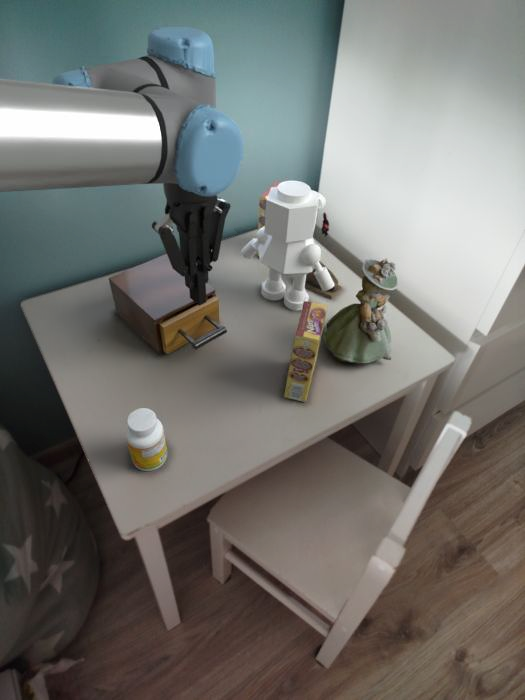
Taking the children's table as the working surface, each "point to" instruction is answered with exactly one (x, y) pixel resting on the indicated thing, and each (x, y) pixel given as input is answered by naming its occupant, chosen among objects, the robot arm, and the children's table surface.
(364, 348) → the figurine
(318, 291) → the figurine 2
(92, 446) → the children's table surface
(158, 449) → the supplement bottle
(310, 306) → the candy box
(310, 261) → the robot toy
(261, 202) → the candy box
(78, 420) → the children's table surface
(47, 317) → the children's table surface
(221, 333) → the drawer
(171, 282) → the cabinet
